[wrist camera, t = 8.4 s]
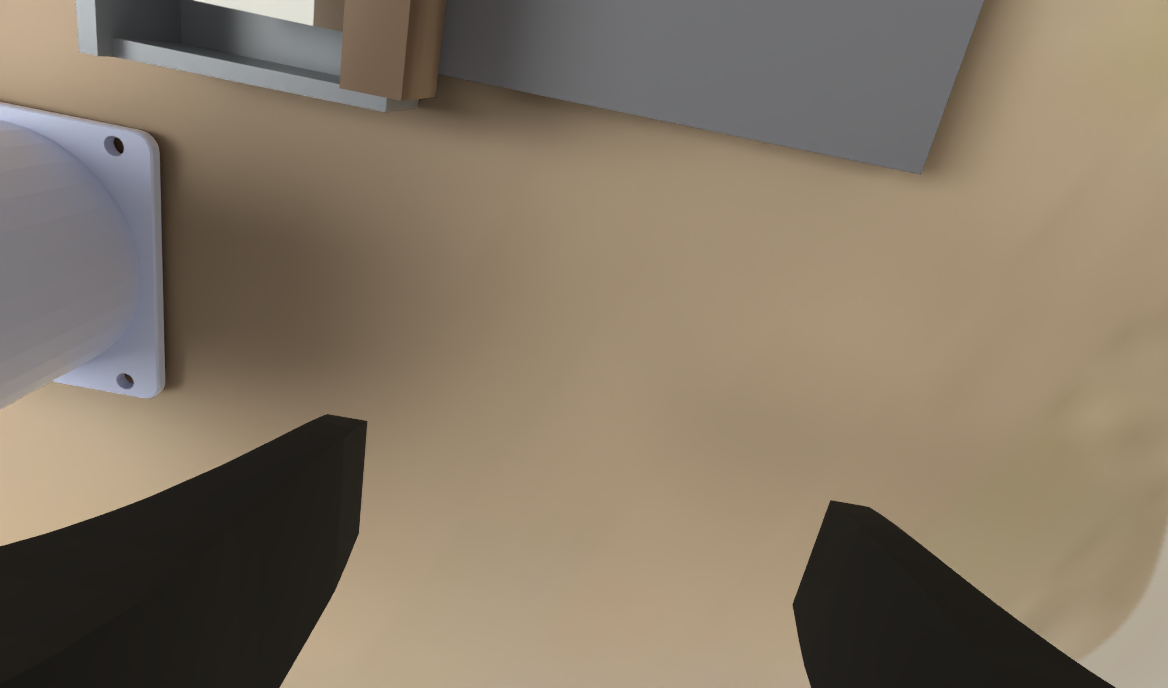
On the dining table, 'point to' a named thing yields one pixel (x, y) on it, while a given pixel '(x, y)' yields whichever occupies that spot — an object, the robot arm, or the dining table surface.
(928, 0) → the charcoal board
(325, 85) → the tray
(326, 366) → the dining table surface
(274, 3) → the matte white cube
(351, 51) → the walnut mallet
